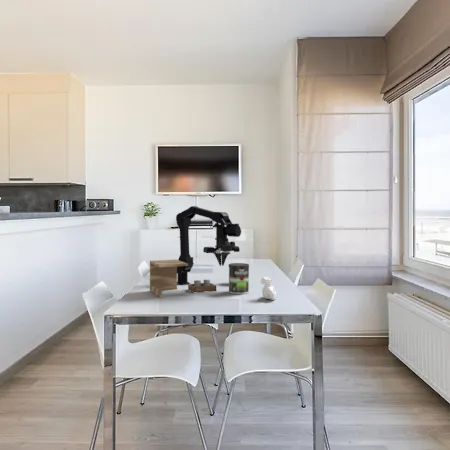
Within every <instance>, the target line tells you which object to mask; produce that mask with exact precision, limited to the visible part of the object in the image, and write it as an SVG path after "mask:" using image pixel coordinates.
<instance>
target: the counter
mask: <svg viewBox="0 0 450 450" xmlns="http://www.w3.org/2000/svg"><path fill="white" fill-rule="evenodd" d="M177 266H188V263H185V262H182V261H179V260H178V259H163V260H162V259H161V260H149V292H150V293H152V294H153V295H155V296H156V297H158V298H159V299H163V298H162V297H163V291H170V290H177V289H178V284H177Z"/></svg>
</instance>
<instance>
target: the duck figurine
mask: <svg viewBox="0 0 450 450" xmlns="http://www.w3.org/2000/svg"><path fill="white" fill-rule="evenodd" d="M260 283H261V284H262V285H264V286H263V287H262V288H261V293H262V297H263V298H264V299H265V300H272V301H274V300H276V299H277V296H278V295H277V291H276V290H275V287H274V286H273V285H272V279H271V278H270V277H268V276H263V277H262V278H261V280H260Z"/></svg>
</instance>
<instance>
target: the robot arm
mask: <svg viewBox="0 0 450 450" xmlns="http://www.w3.org/2000/svg"><path fill="white" fill-rule="evenodd" d="M196 215H197V216H201V217H204V218H208V219H210V220H211V221H213V222H215V223H214V224H213V225H212V228H215V231H216V232H215V235H216V236H215V238H214V239H215V245H214V246H204V247H203V249H202V250H203V251H202V252H203V253H206V254H213V255H214V256H215V259H216V260H217V263H218V265H219V266H220V267H221V266H222V267H224V266H225V263H226V260H227V257H228V255H231V252H234V253H237V252H241V251H240V247H239V246H238V245H236V242H235V241H229V238H228V237H232V238H233V237H234V238H235V237H236V238H237V237H239V238H240V236H241V234H242V228H241V227H240V223H233V221H232V220H231V219H230V216H229V214H228V213H227V212H226V211H224V212H223V211H213V210H209V209H206V208H203V207H199V206H198V205H195V206H193V205H192V206H189V207H188V208H186V209H184V210H182V211H181V212H178V213H177V214H176V216H175V221H176V225H177V227H178V229H179V246H180V254H179V257H178V259H177V260H179V261H182V262H185V263H188V266H177V285H178V286H179V285H188V284H191V282H189V279H188V277H189V276H188V273H190V272H191V270H192V269H193V266H194V257H193V256H191V254H190V239H189V237H190V235H189V229H190V225H191V223H192V219H194V217H195V216H196Z"/></svg>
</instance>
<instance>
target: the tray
mask: <svg viewBox="0 0 450 450" xmlns="http://www.w3.org/2000/svg"><path fill="white" fill-rule="evenodd" d="M187 290H188V291H190V290H191V291H190V292H192V291H193V292H192V293H194V292H198V293H205V292H204V291H209V292H217V285H216V284H214V283H212V282H211V280H210V279H203V282H202V281H201V280H198V279H197V280H194V281H193V283H190V284H187Z"/></svg>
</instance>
